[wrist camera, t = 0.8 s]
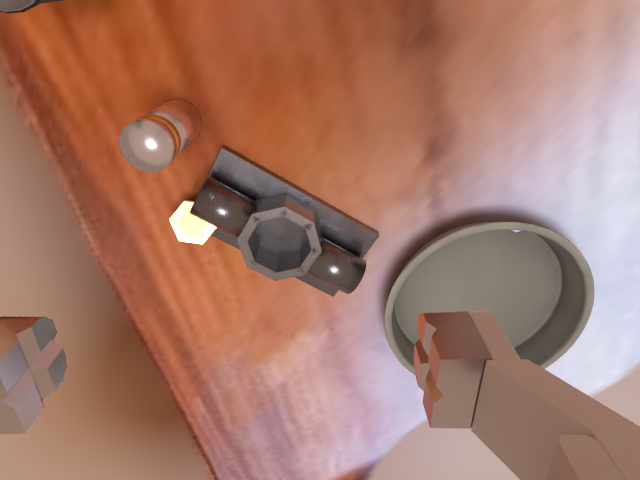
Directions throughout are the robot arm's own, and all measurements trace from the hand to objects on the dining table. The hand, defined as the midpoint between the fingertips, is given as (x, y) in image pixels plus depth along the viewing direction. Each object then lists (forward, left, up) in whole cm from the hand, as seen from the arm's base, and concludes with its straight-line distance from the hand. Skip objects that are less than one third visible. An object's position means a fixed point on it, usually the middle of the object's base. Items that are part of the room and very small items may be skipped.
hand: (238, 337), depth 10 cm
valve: (+10, -9, -38) cm, 40 cm away
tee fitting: (+15, +6, -38) cm, 41 cm away
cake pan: (+11, +32, -39) cm, 51 cm away
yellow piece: (+19, -3, -37) cm, 41 cm away
